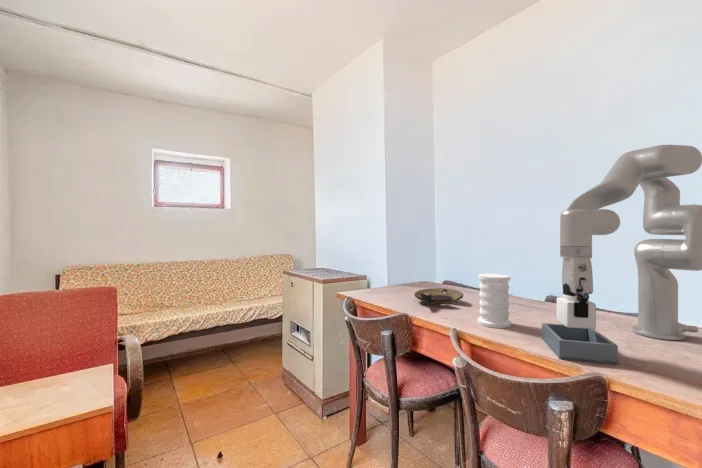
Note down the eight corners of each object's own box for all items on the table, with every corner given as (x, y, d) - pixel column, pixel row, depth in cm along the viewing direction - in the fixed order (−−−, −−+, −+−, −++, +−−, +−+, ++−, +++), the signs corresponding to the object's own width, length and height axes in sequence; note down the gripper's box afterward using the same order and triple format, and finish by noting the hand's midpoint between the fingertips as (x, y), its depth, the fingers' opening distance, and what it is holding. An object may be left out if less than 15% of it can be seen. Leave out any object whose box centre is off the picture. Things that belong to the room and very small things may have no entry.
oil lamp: (474, 304, 150) (474, 288, 150) (428, 313, 134) (428, 295, 134) (438, 296, 169) (438, 281, 169) (394, 303, 153) (394, 287, 153)
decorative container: (473, 319, 124) (473, 273, 124) (504, 319, 123) (504, 273, 123) (482, 327, 113) (482, 277, 113) (516, 328, 112) (516, 277, 111)
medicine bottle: (596, 329, 87) (596, 285, 87) (567, 327, 88) (567, 284, 88) (582, 322, 94) (582, 281, 94) (556, 320, 95) (556, 281, 95)
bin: (589, 342, 97) (589, 326, 97) (617, 364, 81) (617, 345, 81) (542, 338, 101) (542, 322, 101) (559, 358, 85) (559, 340, 85)
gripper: (605, 254, 82) (604, 323, 82) (579, 251, 98) (578, 307, 98) (571, 254, 84) (571, 320, 84) (551, 250, 100) (551, 306, 101)
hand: (575, 313), depth 91 cm, fingers closed on medicine bottle, 7 cm apart
